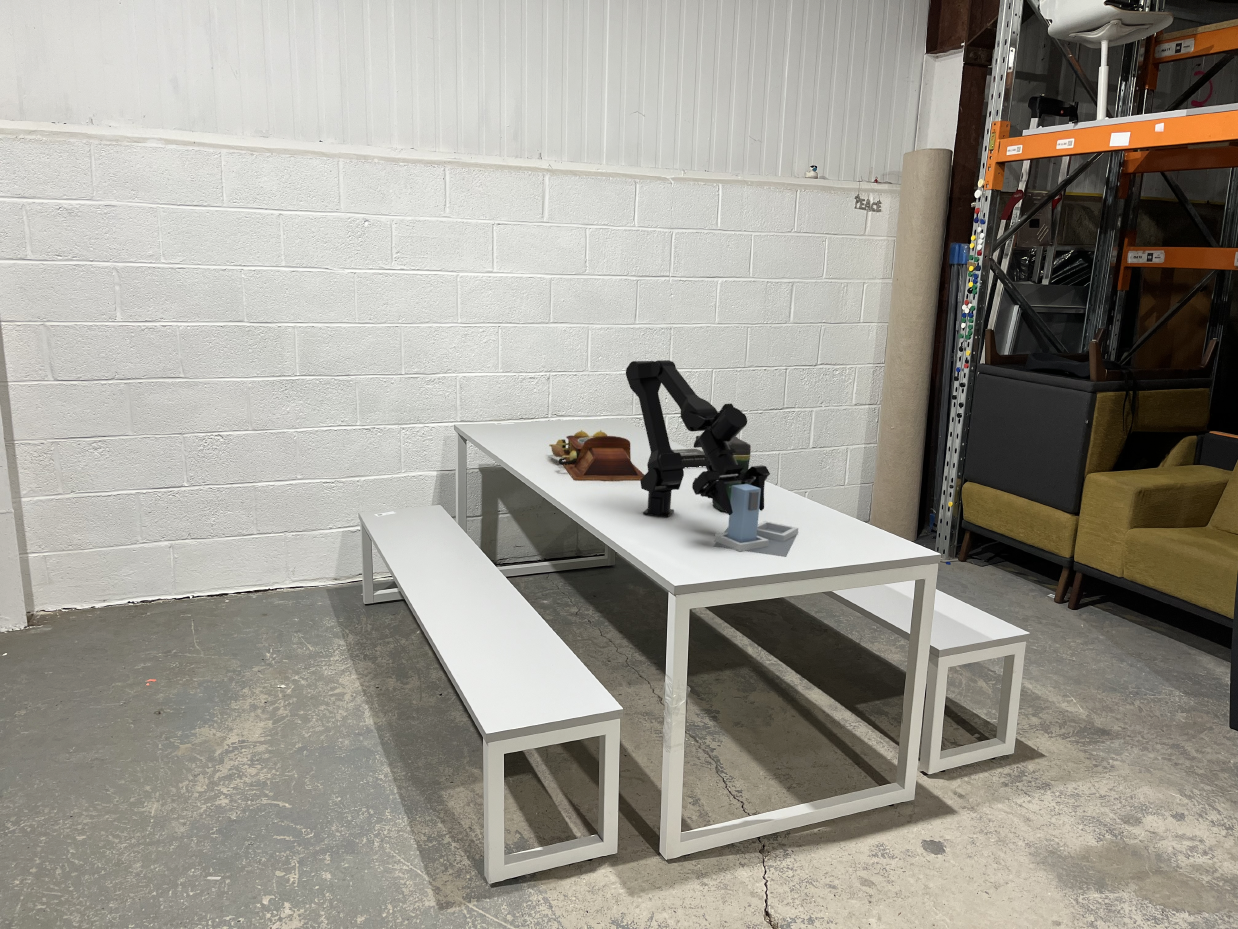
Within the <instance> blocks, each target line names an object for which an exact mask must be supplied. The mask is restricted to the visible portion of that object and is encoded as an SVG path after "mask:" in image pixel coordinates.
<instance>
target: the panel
mask: <svg viewBox="0 0 1238 929" xmlns="http://www.w3.org/2000/svg"><path fill="white" fill-rule="evenodd" d="M797 535H799V527H796V526H792V525H787V524H782V523H778V522H772V521H767V520H764V521H762V522H758V526H757V537H756V541H750V542H744V543H739V542H737V541H734V540H732V539H730V538H728V527H727V528H726V529H725V530H724V532H723V533H722V532H721V533H715V534H714V541H713V542H715V543H714V544H713V545H712V546H713V547H715V548H720V549H721V548H722V549H729V550H735V551H737V552H749V553H756V554H763V555H770V556H777V557H783V558H786V557H787V556H788V554H789V552H790V550H791V548H792V546H793V544H794V542H795V540H796V538H797Z"/></svg>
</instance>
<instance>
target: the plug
mask: <svg viewBox="0 0 1238 929" xmlns="http://www.w3.org/2000/svg"><path fill="white" fill-rule="evenodd" d="M760 492H761V488H758V487H755V486H752V485H749V484H742V485H733V486H732V489H731V501H730V503H731V506H732V511H733V513H732V514H731V515H729V516H728V526H727V528H728V538H730V539H732V540H734V541H737V542H739V543H744V542H750V541H756V537H757V526H758V524H759V512H760V509H759V504H760Z"/></svg>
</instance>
